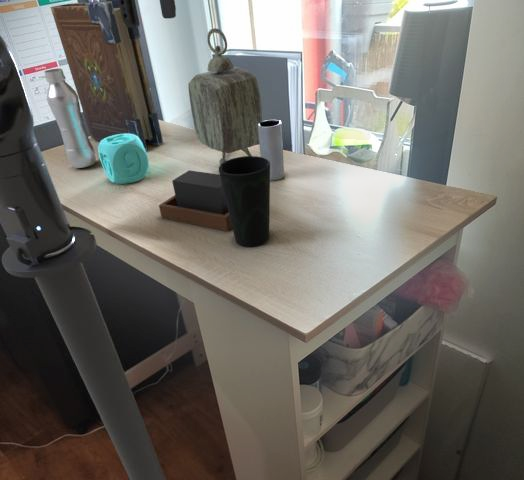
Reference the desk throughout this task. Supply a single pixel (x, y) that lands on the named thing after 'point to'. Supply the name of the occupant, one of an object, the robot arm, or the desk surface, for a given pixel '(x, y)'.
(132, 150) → the decorative dice
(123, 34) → the decorative book
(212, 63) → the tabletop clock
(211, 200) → the black rectangular box
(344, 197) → the desk surface
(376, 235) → the desk surface
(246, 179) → the cup
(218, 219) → the wooden tray
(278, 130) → the grey cylindrical tube
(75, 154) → the silver metal bottle
